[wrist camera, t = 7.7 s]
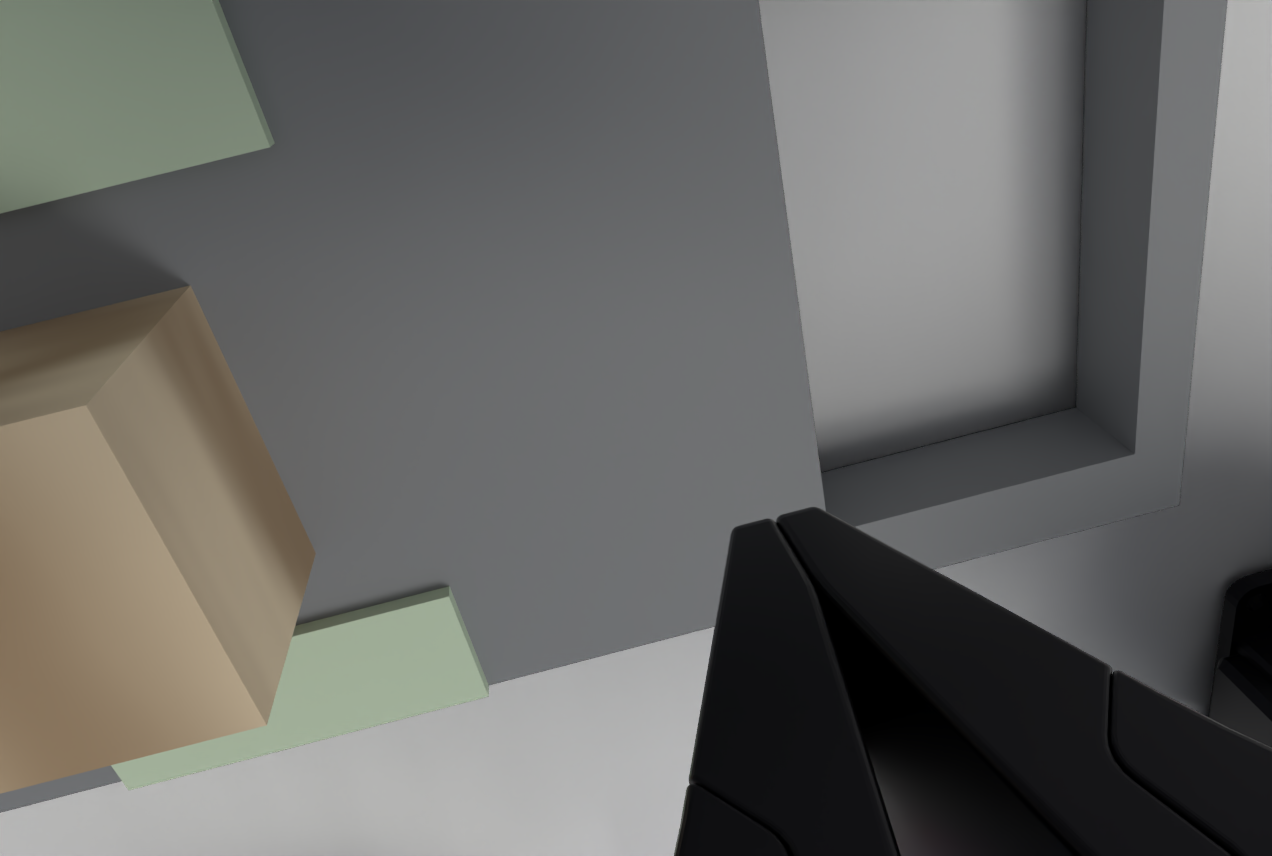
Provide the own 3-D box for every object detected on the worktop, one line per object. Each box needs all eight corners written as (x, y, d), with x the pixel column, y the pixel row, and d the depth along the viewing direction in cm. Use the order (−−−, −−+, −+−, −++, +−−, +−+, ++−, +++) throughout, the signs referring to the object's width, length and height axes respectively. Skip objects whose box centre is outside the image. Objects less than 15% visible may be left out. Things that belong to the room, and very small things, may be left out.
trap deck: (1159, -279, 14) (1274, -317, 12) (1118, 455, 20) (1189, 513, 18) (-734, 176, 13) (-958, 219, 11) (-162, 787, 19) (-238, 885, 17)
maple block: (189, 284, 14) (86, 405, 10) (315, 553, 16) (266, 725, 12) (-147, 367, 13) (-373, 518, 10) (30, 625, 16) (-101, 820, 12)
